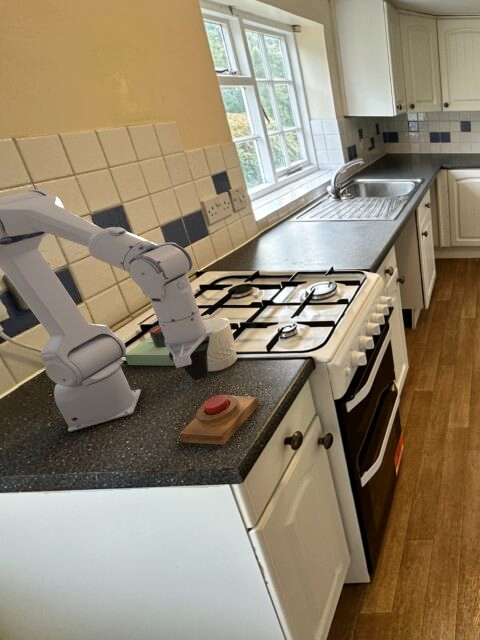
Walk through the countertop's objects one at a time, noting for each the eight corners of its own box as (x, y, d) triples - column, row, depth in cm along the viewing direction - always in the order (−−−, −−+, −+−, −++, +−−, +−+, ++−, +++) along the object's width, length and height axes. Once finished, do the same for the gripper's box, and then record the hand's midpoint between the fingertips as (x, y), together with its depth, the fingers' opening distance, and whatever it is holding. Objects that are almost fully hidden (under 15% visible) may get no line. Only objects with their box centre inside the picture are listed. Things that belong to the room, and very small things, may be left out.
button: (220, 416, 76) (217, 408, 76) (201, 415, 77) (198, 407, 76) (233, 402, 80) (231, 395, 79) (215, 401, 80) (213, 394, 79)
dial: (164, 336, 101) (158, 321, 100) (182, 337, 101) (176, 322, 100) (149, 347, 97) (143, 332, 96) (168, 347, 97) (162, 332, 96)
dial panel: (128, 365, 96) (123, 353, 95) (162, 340, 105) (158, 330, 104) (178, 365, 96) (174, 354, 95) (208, 341, 105) (205, 330, 104)
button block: (224, 445, 75) (218, 428, 73) (182, 442, 75) (175, 425, 74) (259, 405, 84) (254, 389, 82) (222, 403, 84) (216, 388, 83)
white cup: (208, 378, 92) (194, 340, 88) (195, 364, 96) (181, 328, 92) (246, 360, 97) (235, 324, 94) (232, 348, 102) (221, 313, 98)
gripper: (202, 327, 67) (224, 392, 72) (209, 291, 79) (228, 350, 84) (147, 339, 64) (174, 407, 69) (163, 300, 76) (186, 361, 81)
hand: (201, 377), depth 76 cm, fingers closed
